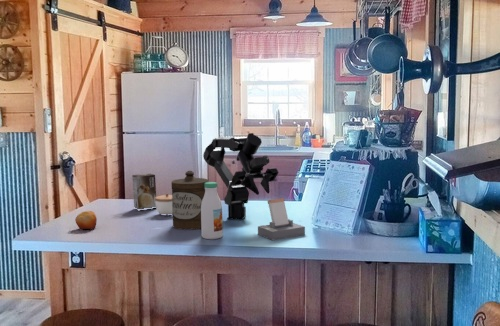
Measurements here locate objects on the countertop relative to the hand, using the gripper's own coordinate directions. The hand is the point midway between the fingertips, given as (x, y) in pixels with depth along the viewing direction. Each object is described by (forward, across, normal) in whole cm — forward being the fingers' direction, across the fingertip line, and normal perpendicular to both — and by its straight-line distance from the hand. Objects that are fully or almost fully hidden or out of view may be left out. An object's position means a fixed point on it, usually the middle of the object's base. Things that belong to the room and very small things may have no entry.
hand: (263, 193), depth 206 cm
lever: (+16, 0, -1) cm, 16 cm away
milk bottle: (+10, -23, +9) cm, 27 cm away
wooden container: (-5, -21, +24) cm, 33 cm away
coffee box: (-35, -25, +54) cm, 69 cm away
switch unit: (+18, 0, +1) cm, 18 cm away
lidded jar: (-23, -21, +42) cm, 52 cm away
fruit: (-18, -58, +37) cm, 71 cm away
